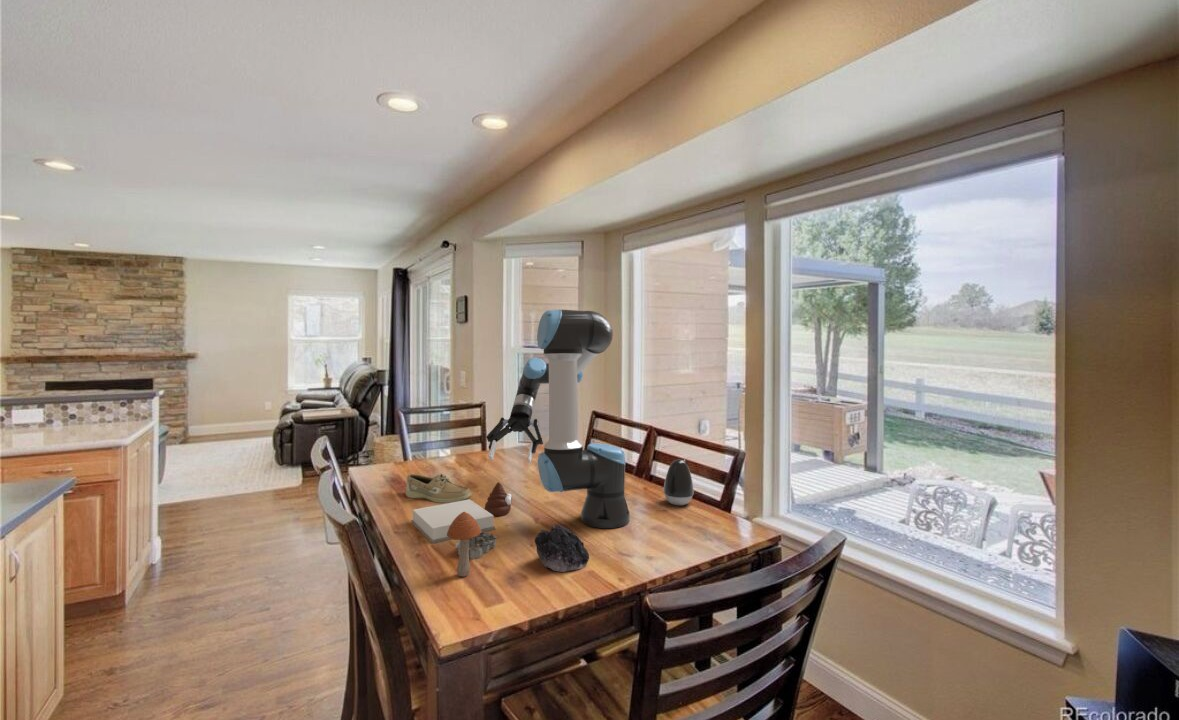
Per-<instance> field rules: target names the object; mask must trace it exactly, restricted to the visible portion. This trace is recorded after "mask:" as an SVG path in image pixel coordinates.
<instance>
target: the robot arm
mask: <svg viewBox="0 0 1179 720" xmlns="http://www.w3.org/2000/svg"><path fill="white" fill-rule="evenodd" d="M613 331H614V330H613V328H612V324H611V323H610V321H609V320H608V319H607V317H606V316H604V315H603V314H601V313H600V312H598V311H594V310H578V309H577V310H575V309H573V310H572V309H549V310H545V312H543V314H542V316H540V319H539V323H538V325H537V331H536V332H537V333H536V334H537V335H536V336H537V337H536V342H537V344H536V345H537V347H538V349H541V350H543V356H544V357H545V358H546V359H547V361H548V363H547V362H545V360H543V359H541V358H539V357H531V358H529V359H528V360H527V361H526V363H525V365H524V367H523V371H522V374H521V377H520V380H519V382H518V387H517V391H516V395H515V398H514V401H513V405H512V409H511V411H510V416H509V418H508V419H506V418H504V417H500V419H499V421H498V423H497V424H496V425H495V426H494V427H493V429H491V431H490V432H489V433H488V434H487V435H486V437H485V438H486V440H487V442H488V443H489V444H488V449H489V453H488V457H489V461H493V459H494V456H495V453H496V449H497V446H498V444H497V442H499V441H501V440H502V439H503V438H504V437H505V436H507V435H508V434H510V433H512V432H515V433H517V432H518V433H523V432H524V433H525V435H526V436H527V437H528V438H529V440H530V443H529V448H528V452H527V456H526V459H527V462H528V463H532V458H533V454H535V453H536V452H537V447H538V446H540V445H541V446H542V445H543V446H544V447H543V451H542V452H540V453H539V454H538V456H537V468H538V469H537V470H538V475H539V479H540V481H541V484H542V487H543V489H545V490H546V491H547V492H549V493H556V492H557V493H559V492H560V493H563V492H569V491H578V490H579V491H581V490H586V496H585V500H584V502H583V505H582V506H583V507H582V508H581V511H580V521H581V522H582V523H583V524H585V525H586V526H589V527H593V528H598V529H616V528H620V527H624V526H626V525H628V524H630V519H631V518H630V516H631V515H630V511H629V507H628V503H627V500H626V495H625V488H626V487H625V482H626V473H625V472H626V456H625V455H626V454H625V451H624V450H623V449H622V448H620V447H618V446H614V445H612V444H611V445H610V444H605V443H598V442H596V443H594V442H593V443H589V444H588V445H587V447H586V449H584V446H583V445H584V444H582V443H581V442H580V441H579V439H578V435H579V433H578V432H579V431H578V430H579V429H578V428H579V427H578V425H579V424H578V423H579V421H578V420H579V419H578V418H579V417H578V416H579V415H578V406H579V405H578V383H580V382H581V381H582V378H583V375H584V373H583V372H584V371H583V370H584V369H585V368H586V367H587V366H588V365H589V364H590V363H591V362H592V360H593V359H594V358H595V357H597V355H599V354H600V355H601V354H602V353H604V352H605V351H606V350H607V349H608V348H609V347H610V345H611V344H612V341H613V336H614V334H613ZM544 384H545V385H546V384H548V433H549V434H548V437H549V438H548V441H547V442H545V444H544V441H543V439H542V435H541V433H540V429H539V422H538V419H537V418H534V419H533V420H531V419H532V416H533V411H534V407H535V403H536V399H537V395H538V391H539V389H540V386H541V385H544ZM530 426H532V427H533V428H534V431H535V434H536V437H537V438H536V437H535V435H534V434H533V433H532V431H531V430H530V429H529V427H530Z"/></svg>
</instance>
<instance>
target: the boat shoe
mask: <svg viewBox="0 0 1179 720" xmlns="http://www.w3.org/2000/svg"><path fill="white" fill-rule="evenodd" d="M405 496H406V498H410V499H415V500H428V501H429V502H433V503H437V504H439V503H440V504H446V503H452V502H457V501H463V500H468V499H469V498H471V497H472V492H471V490H470V488H468V487H467V486H462V485H457V484H456V483H453V482H452V481H451V480H450V479H449V478H448V477H447V475H444V474H443V473H440V475H439V474H436V475H434V477H431V476H426V475H421V474H415V473H410V474H407V476H406V489H405Z"/></svg>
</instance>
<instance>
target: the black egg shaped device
mask: <svg viewBox="0 0 1179 720" xmlns="http://www.w3.org/2000/svg"><path fill="white" fill-rule="evenodd" d="M686 462H687V459H686V458H683V459H679V458H677V459H674V460H672V462H671V463H670V465H669V467H668V470H667V472H666V476H665V479H664V483H663V484H664V485H663V494H664V497H665V499H666V501H667V502H668V503H669V504H671V505H674V506H685V505H687V504H689V503H690V502H691V500H692V498H693V496H694V484H693V478H692V473H691V471H690V468H689V466H688V464H687V463H686Z"/></svg>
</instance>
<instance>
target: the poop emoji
mask: <svg viewBox="0 0 1179 720" xmlns="http://www.w3.org/2000/svg"><path fill="white" fill-rule="evenodd" d="M512 500H513V496H512V494H511V493H507V492H505V490H504V487H503V484H502V483H501V482H497V483H496V484H495V486H494V487H493V488H492V490H491V492H490V493H489V496H488V497H487V501H486V502H485V505H484V509H485V510H486V511H488V512H489V513H491V514H492V515H494V517H500V516H501V517H503V516H506V515H507V514H509V513H510V511H511V506H512V505H511V504H512V502H513V501H512Z"/></svg>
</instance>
